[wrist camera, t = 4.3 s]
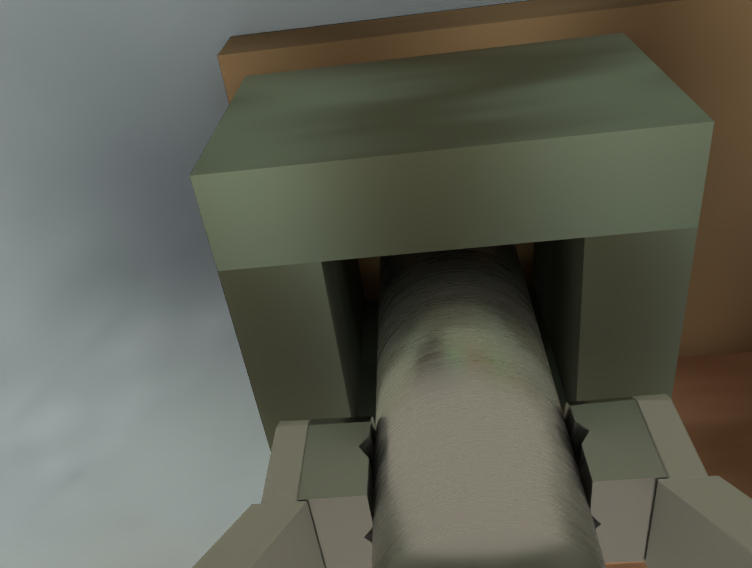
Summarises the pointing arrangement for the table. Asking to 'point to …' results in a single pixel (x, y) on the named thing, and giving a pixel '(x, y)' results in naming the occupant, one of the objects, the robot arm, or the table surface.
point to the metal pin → (470, 423)
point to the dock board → (498, 197)
